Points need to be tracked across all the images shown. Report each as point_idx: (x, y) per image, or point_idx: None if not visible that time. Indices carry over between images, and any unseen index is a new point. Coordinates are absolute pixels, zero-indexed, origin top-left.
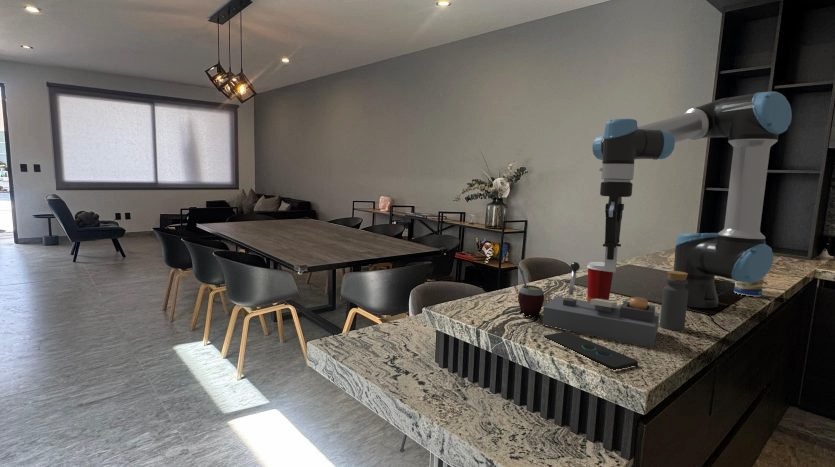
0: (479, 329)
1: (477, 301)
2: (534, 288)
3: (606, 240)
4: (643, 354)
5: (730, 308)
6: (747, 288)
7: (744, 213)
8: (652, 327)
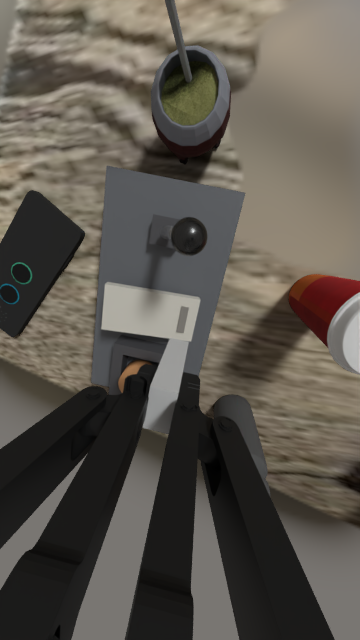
0: (15, 22)
1: None
2: (194, 102)
3: (66, 406)
4: (68, 347)
5: None
6: None
7: None
8: (92, 378)
